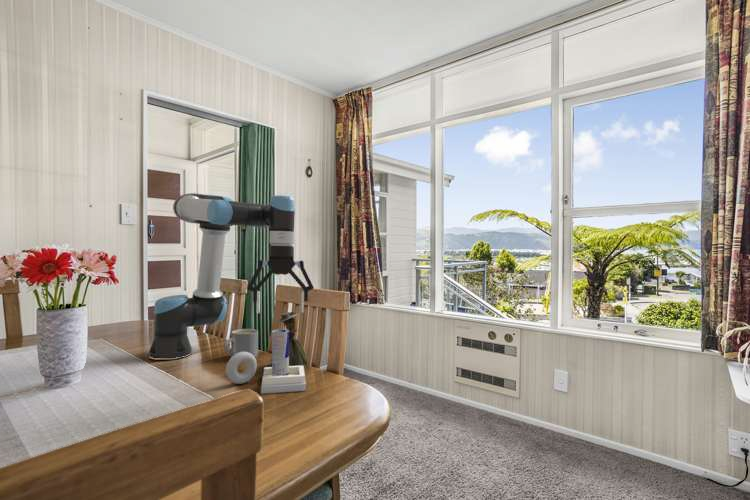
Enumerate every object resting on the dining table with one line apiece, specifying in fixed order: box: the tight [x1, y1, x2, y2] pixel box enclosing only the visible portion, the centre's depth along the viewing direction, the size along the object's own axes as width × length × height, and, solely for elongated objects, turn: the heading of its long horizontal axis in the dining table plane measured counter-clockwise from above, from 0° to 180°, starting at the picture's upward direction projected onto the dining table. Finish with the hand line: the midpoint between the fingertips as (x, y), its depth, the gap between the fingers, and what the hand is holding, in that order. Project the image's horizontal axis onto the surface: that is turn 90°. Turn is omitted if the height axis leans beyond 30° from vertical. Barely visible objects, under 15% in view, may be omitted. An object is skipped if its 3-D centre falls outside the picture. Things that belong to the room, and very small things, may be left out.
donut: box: [225, 352, 258, 385], centre depth 122 cm, size 10×4×10 cm, turn 135°
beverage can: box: [271, 328, 289, 376], centre depth 121 cm, size 5×5×15 cm
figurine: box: [271, 311, 309, 367], centre depth 141 cm, size 14×14×20 cm
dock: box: [260, 365, 307, 394], centre depth 123 cm, size 16×13×4 cm
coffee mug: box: [223, 328, 259, 358], centre depth 151 cm, size 13×10×10 cm
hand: (280, 312), depth 122 cm, fingers open, 13 cm apart
